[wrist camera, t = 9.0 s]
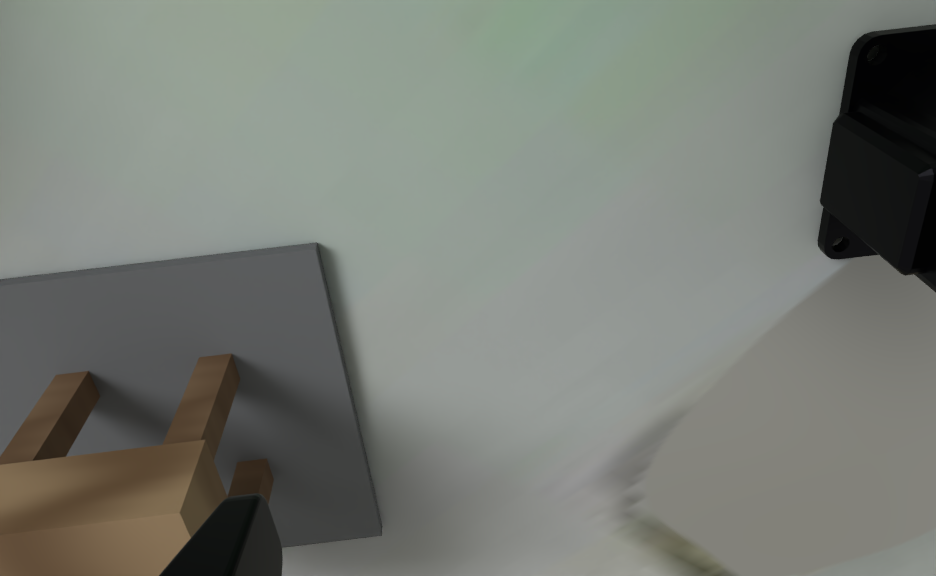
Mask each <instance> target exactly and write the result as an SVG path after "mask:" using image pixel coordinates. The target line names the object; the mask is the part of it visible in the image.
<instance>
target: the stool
mask: <svg viewBox="0 0 936 576" xmlns="http://www.w3.org/2000/svg"><path fill="white" fill-rule="evenodd" d="M239 382H240V377H239V374H238V371H237V368H236V365H235V362H234V359H233V356H232V353H231V354H222V355H214V356H206V357H199V359H198V361H197V364H196V366H195V368H194V371H193V373H192V376H191V378H190V380H189V383H188V385H187V388H186V390H185V392H184V395H183V397H182V399H181V402H180V404H179V407H178V409H177V411H176V414H175V416H174V418H173V421H172V423H171V426H170V428H169V430H168V433H167V435H166V437H165V440H164V442H163V445H157V446H149V447H141V448H133V449H125V450H117V451H109V452H101V453H92V454H84V455H76V456H68V457H66V455H67V454H68V452H69V450H70V448H71V447H72V445H73V443H74V441H75V440H76V438H77V436H78V434H79V433H80V431H81V429H82V427H83V426H84V424H85V422H86V420H87V419H88V417H89V415H90V413H91V412H92V410H93V408H94V406H95V405H96V403H97V401H98V399H99V398H100V395H99V392H98V390H97V388H96V386H95V384H94V382H93V380H92V377H91V375H90V373H89V371H84V372H75V373H67V374H59V375H55V377H54V378H53V380H52V381H51V383H50V384H49V386H48V387H47V389H46V390H45V392H44V393H43V395H42V396H41V397H40V399H39V400H38V402H37V403H36V405H35V406H34V408H33V409H32V411H31V412H30V414H29V415H28V417H27V418H26V419H25V421H24V422H23V424H22V425H21V427H20V428H19V430H18V431H17V433H16V434H15V436H14V437H13V439H12V440H11V441H10V443H9V444H8V446H7V447H6V449H5V450H4V452H3V453H2V455H1V456H0V576H159V575H160V574H161V572H162V571H163V570H164V569H165V568H166V566H167V565H168V564H169V563H170V562H171V561H172V559H173V558H174V557H175V556H176V555H177V554H178V552H179V551H180V550H181V549H182V548H183V546H184V545H185V544H186V543H187V542H188V541H189V539H190V538H191V537H192V536H193V535H194V534H195V532H196V531H197V530H198V529H199V528H200V527H201V525H202V524H203V523H204V522H205V521H206V519H207V518H208V517H209V516H210V515H211V514H212V512H213V511H214V510H215V509H216V508H217V507H218V505H219V504H220V503H221V502H222V501H223V500H225V499H226V498H228V497H230V496H238V495H246V494H254V493H258V494H262V495H263V496H264V497H265V499H266V500H267V503H268V504H269V500H270V495H271V491H272V486H273V482H274V478H273V475H272V472H271V469H270V466H269V463H268V460H267V459H258V460H250V461H242V462H237V465H236V468H235V472H234V475H233V479H232V482H231V486H230V489H229V493H228V496H227V494H226V492H225V489H224V486H223V484H222V481H221V479H220V476H219V474H218V471H217V468H216V466H215V463H214V458H215V455H216V452H217V449H218V446H219V443H220V440H221V437H222V434H223V431H224V428H225V425H226V422H227V419H228V415H229V412H230V409H231V406H232V403H233V400H234V397H235V394H236V391H237V388H238V385H239Z"/></svg>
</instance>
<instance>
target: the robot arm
mask: <svg viewBox="0 0 936 576" xmlns="http://www.w3.org/2000/svg"><path fill="white" fill-rule="evenodd" d="M877 45H878V49H879V51H878V53H877V55H876V56H875V57H874V58H873V59H872V60H870V61H867V55H868V53H869V51H870V50H871V49H872V48H873V47H874V46H877ZM820 203H821V205H822V206H823V213H822V218H821V224H820V230H819V236H818V247H819V248H820V250H821V251H822V252H823V253H824V254H825V255H826V256H827V257H829V258H831V259H845V258H854V257H862V256H871V255H880V256H881V257H882V258H883V259H885V260H886V261H887V262H888V263H889V264H890V265H892V266H893V267H894V268H895V269H896V270H897V271H899V272H900V273H901V274H903V275H912V274H914V275H916V276H917V277H918V278H919V279H920V280H922V281H923V282H924V283H925V284H926V285H928V286H929V287H930V288H931V289H932V290H934V291H935V292H936V24H935V25H926V26H918V27H909V28H900V29H891V30H883V31H874V32H870V33H867V34H864V35H863V36H861V37H860V38H859V39H857V41H856V42H855V43H854V45H853V46H852V49H851V52H850V55H849V61H848V67H847V73H846V78H845V84H844V90H843V96H842V102H841V108H840V113H839V116H838V117H837V119H836V120H835V121H834V123H833V127H832V133H831V139H830V145H829V151H828V157H827V163H826V169H825V175H824V181H823V187H822V193H821V199H820ZM840 237H843V238H842V240H841V242H840V243H838V244H837V245H834V246H832V245H833V243H834V241H835V240H836V239H838V238H840ZM159 576H282V546H281V541H280V538H279V535H278V532H277V529H276V526H275V523H274V520H273V517H272V514H271V511H270V508H269V505H268V503H267V500H266V499H265V497H264V496H263V495H262V494H258V493H254V494H246V495H238V496H230V497H228V498H226V499H225V500H223V501H222V502H221V503H220V504H219V505H218V507H217V508H216V509H215V510H214V511H213V512H212V514H211V515H210V516H209V517H208V518H207V519H206V521H205V522H204V523H203V524H202V525H201V527H200V528H199V529H198V530H197V531H196V532H195V534H194V535H193V536H192V537H191V538H190V539H189V541H188V542H187V543H186V544H185V545H184V546H183V548H182V549H181V550H180V551H179V552H178V554H177V555H176V556H175V557H174V558H173V559H172V561H171V562H170V563H169V564H168V565H167V566H166V568H165V569H164V570H163V571H162V572H161V574H160V575H159Z"/></svg>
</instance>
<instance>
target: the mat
mask: <svg viewBox="0 0 936 576" xmlns="http://www.w3.org/2000/svg"><path fill="white" fill-rule="evenodd" d="M231 353H232V356H233V359H234V362H235V365H236V368H237V371H238V374H239V377H240V382H239V385H238V388H237V391H236V394H235V397H234V400H233V403H232V406H231V409H230V412H229V415H228V419H227V422H226V425H225V428H224V431H223V434H222V437H221V440H220V443H219V446H218V449H217V452H216V455H215V458H214V463H215V466H216V468H217V471H218V474H219V476H220V479H221V481H222V484H223V486H224V489H225V492H226V494H227V496H228V493H229V489H230V486H231V482H232V479H233V475H234V472H235V468H236V465H237V462H242V461H250V460H258V459H267V460H268V463H269V466H270V469H271V472H272V475H273V478H274V482H273V486H272V491H271V495H270V500H269V504H268V505H269V508H270V511H271V514H272V517H273V520H274V523H275V526H276V529H277V532H278V535H279V538H280V541H281V546H282V547H290V546H299V545H307V544H316V543H324V542H332V541H341V540H349V539H357V538H366V537H374V536H382V524H381V519H380V515H379V511H378V506H377V502H376V498H375V493H374V489H373V485H372V480H371V476H370V471H369V467H368V463H367V458H366V454H365V450H364V445H363V441H362V437H361V432H360V428H359V423H358V419H357V415H356V410H355V406H354V402H353V397H352V393H351V388H350V384H349V380H348V375H347V371H346V367H345V362H344V358H343V354H342V349H341V345H340V340H339V336H338V332H337V327H336V323H335V319H334V314H333V310H332V306H331V301H330V297H329V292H328V288H327V284H326V279H325V275H324V271H323V266H322V262H321V257H320V253H319V249H318V244H317V243H310V244H302V245H293V246H284V247H276V248H267V249H259V250H250V251H241V252H233V253H224V254H216V255H207V256H199V257H190V258H181V259H173V260H164V261H156V262H147V263H138V264H130V265H121V266H113V267H104V268H95V269H87V270H78V271H70V272H61V273H53V274H44V275H35V276H27V277H18V278H10V279H1V280H0V456H1V455H2V453H3V452H4V450H5V449H6V447H7V446H8V444H9V443H10V441H11V440H12V439H13V437H14V436H15V434H16V433H17V431H18V430H19V428H20V427H21V425H22V424H23V422H24V421H25V419H26V418H27V417H28V415H29V414H30V412H31V411H32V409H33V408H34V406H35V405H36V403H37V402H38V400H39V399H40V397H41V396H42V395H43V393H44V392H45V390H46V389H47V387H48V386H49V384H50V383H51V381H52V380H53V378H54V377H55V375H59V374H67V373H75V372H84V371H89V373H90V375H91V377H92V380H93V382H94V384H95V386H96V388H97V390H98V392H99V395H100V398H99V399H98V401H97V403H96V405H95V406H94V408H93V410H92V412H91V413H90V415H89V417H88V419H87V420H86V422H85V424H84V426H83V427H82V429H81V431H80V433H79V434H78V436H77V438H76V440H75V441H74V443H73V445H72V447H71V448H70V450H69V452H68V454H67V455H66V457H68V456H76V455H84V454H92V453H101V452H109V451H117V450H125V449H133V448H141V447H149V446H157V445H163V442H164V440H165V437H166V435H167V433H168V430H169V428H170V426H171V423H172V421H173V418H174V416H175V414H176V411H177V409H178V407H179V404H180V402H181V399H182V397H183V395H184V392H185V390H186V388H187V385H188V383H189V380H190V378H191V376H192V373H193V371H194V368H195V366H196V364H197V361H198V359H199V357H206V356H214V355H222V354H231Z"/></svg>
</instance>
